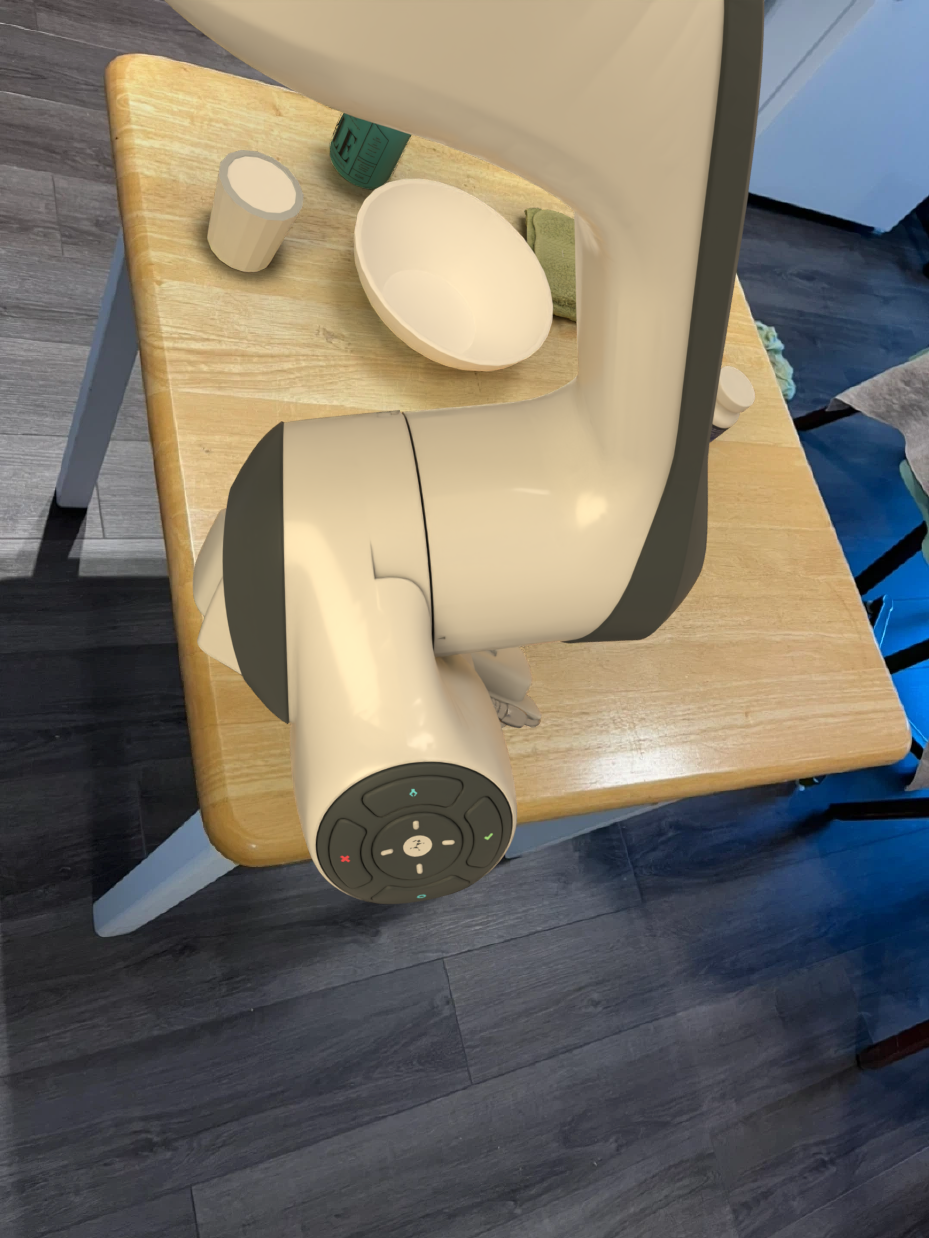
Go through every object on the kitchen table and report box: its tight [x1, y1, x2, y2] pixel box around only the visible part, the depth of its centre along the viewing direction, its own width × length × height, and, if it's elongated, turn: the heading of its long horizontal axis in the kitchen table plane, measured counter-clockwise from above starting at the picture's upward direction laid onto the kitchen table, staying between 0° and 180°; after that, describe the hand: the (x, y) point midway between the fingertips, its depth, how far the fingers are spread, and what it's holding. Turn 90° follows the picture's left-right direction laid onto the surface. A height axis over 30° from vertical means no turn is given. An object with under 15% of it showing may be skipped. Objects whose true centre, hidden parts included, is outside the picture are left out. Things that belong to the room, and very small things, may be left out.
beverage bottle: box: [328, 112, 413, 190], centre depth 77 cm, size 6×7×20 cm
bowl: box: [353, 178, 554, 372], centre depth 80 cm, size 20×20×7 cm
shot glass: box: [206, 149, 305, 273], centre depth 73 cm, size 7×7×7 cm
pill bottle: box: [710, 365, 756, 443], centre depth 89 cm, size 6×6×10 cm
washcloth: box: [523, 207, 577, 322], centre depth 95 cm, size 13×18×3 cm
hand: (362, 577), depth 58 cm, fingers closed on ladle, 2 cm apart
